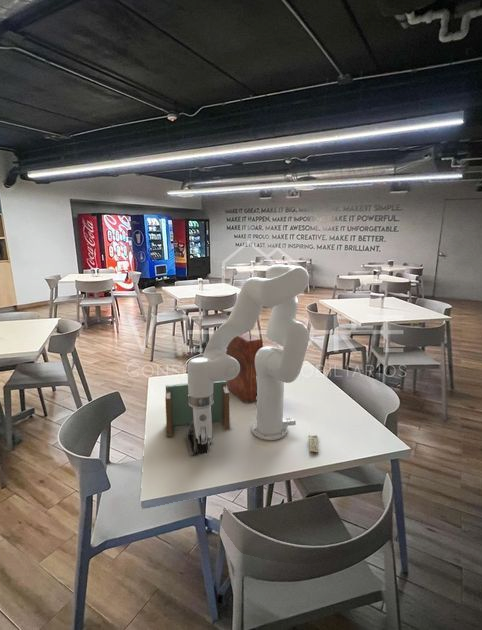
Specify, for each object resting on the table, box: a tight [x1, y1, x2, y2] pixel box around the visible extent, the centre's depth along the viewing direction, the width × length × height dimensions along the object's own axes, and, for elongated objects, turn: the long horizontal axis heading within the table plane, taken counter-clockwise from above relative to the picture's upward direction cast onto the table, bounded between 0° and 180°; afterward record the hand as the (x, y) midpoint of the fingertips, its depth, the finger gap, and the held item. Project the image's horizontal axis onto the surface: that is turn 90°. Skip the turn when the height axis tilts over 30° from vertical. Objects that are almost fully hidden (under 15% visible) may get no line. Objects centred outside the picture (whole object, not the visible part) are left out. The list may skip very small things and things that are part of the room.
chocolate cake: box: [185, 419, 212, 456], centre depth 113 cm, size 10×7×12 cm
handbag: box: [225, 331, 264, 403], centre depth 149 cm, size 10×19×35 cm, turn 31°
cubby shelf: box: [164, 381, 231, 438], centre depth 122 cm, size 22×9×16 cm, turn 104°
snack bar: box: [308, 434, 320, 454], centre depth 113 cm, size 10×2×3 cm
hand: (202, 452), depth 105 cm, fingers closed
